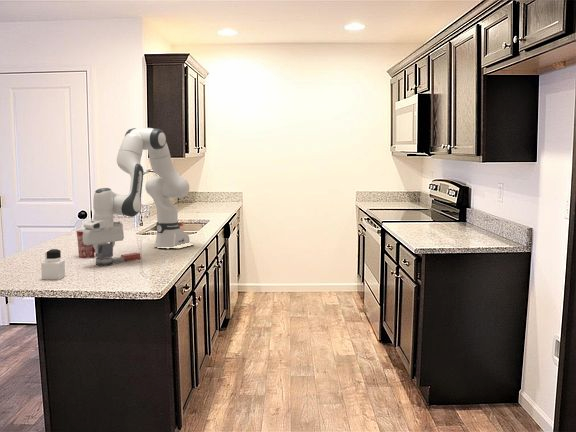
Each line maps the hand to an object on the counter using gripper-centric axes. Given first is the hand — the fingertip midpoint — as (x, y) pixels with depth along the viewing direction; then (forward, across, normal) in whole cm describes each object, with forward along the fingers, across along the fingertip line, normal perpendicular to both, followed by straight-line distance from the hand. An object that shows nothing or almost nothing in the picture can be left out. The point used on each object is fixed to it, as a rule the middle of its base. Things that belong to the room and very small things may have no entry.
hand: (104, 252), depth 263 cm
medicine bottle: (+6, +30, +8) cm, 32 cm away
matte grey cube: (+2, 0, 0) cm, 2 cm away
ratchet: (+6, -8, 0) cm, 10 cm away
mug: (+6, -6, -21) cm, 23 cm away
